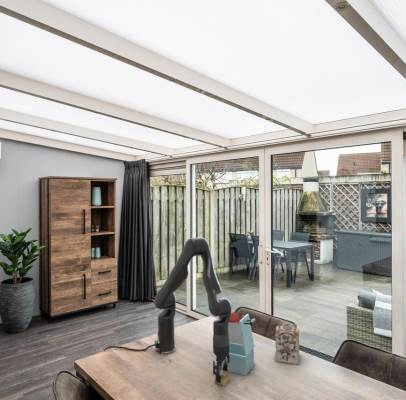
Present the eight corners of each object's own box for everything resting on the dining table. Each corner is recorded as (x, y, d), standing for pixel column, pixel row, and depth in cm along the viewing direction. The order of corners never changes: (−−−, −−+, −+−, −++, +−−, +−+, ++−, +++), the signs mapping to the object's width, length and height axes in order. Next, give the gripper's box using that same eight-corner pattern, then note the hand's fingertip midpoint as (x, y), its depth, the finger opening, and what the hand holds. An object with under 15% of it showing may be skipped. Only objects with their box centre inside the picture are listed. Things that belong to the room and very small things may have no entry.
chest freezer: (216, 368, 164) (215, 350, 164) (225, 358, 175) (225, 341, 176) (246, 375, 157) (245, 357, 157) (253, 364, 168) (253, 347, 168)
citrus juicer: (252, 343, 193) (252, 309, 193) (241, 355, 178) (240, 318, 179) (228, 338, 201) (228, 305, 202) (215, 348, 187) (215, 313, 187)
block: (215, 383, 151) (214, 373, 151) (218, 378, 155) (218, 369, 155) (224, 385, 148) (224, 375, 149) (227, 380, 152) (227, 371, 152)
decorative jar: (299, 355, 177) (299, 321, 178) (299, 365, 166) (298, 329, 167) (276, 352, 181) (276, 319, 182) (275, 361, 170) (274, 326, 171)
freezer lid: (239, 321, 159) (249, 321, 156) (247, 313, 170) (257, 313, 168) (245, 356, 157) (255, 356, 155) (252, 346, 168) (263, 346, 166)
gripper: (219, 336, 160) (220, 369, 159) (207, 347, 147) (208, 383, 147) (234, 338, 156) (234, 373, 156) (222, 350, 144) (223, 387, 143)
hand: (221, 378), depth 151 cm, fingers open, 8 cm apart
